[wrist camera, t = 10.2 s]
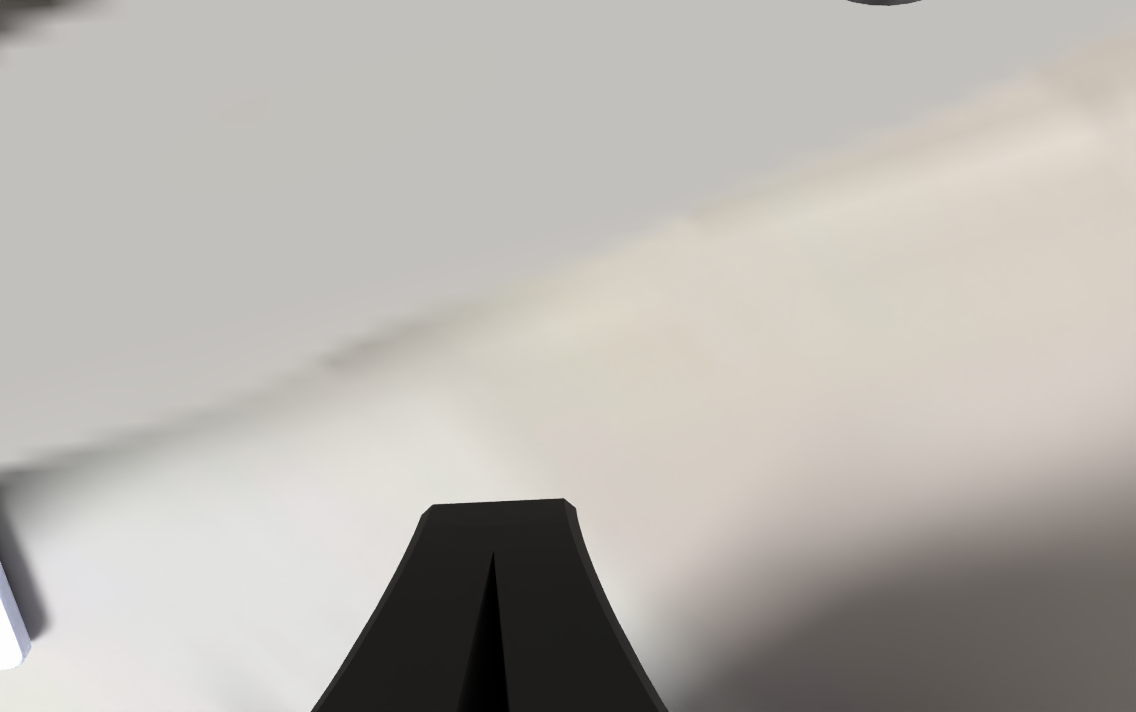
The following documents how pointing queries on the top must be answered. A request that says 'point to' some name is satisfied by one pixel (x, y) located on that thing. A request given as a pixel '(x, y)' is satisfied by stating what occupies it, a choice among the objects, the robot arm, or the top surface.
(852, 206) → the top surface
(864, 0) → the metal post
